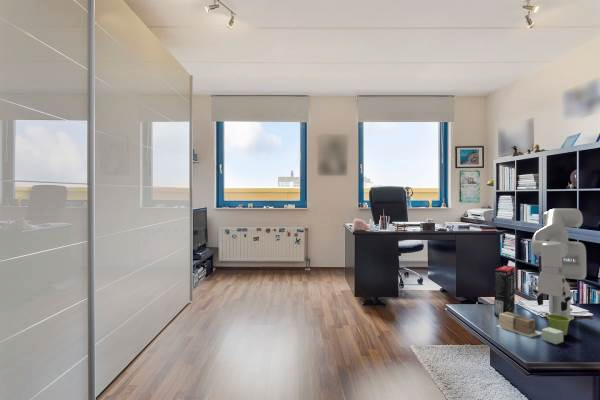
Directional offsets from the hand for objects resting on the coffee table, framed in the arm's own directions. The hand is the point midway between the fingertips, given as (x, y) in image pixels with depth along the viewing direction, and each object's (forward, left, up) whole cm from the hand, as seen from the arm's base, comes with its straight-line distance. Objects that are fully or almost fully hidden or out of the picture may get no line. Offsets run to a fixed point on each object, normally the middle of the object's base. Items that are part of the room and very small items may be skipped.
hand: (551, 307), depth 159 cm
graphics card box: (-19, -33, -17) cm, 42 cm away
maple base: (-1, -20, -15) cm, 25 cm away
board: (-1, -15, -16) cm, 23 cm away
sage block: (0, 0, -16) cm, 16 cm away
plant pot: (-13, -4, -17) cm, 21 cm away
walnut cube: (-1, -12, -15) cm, 20 cm away
